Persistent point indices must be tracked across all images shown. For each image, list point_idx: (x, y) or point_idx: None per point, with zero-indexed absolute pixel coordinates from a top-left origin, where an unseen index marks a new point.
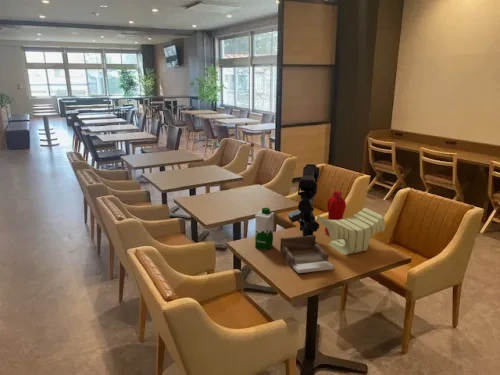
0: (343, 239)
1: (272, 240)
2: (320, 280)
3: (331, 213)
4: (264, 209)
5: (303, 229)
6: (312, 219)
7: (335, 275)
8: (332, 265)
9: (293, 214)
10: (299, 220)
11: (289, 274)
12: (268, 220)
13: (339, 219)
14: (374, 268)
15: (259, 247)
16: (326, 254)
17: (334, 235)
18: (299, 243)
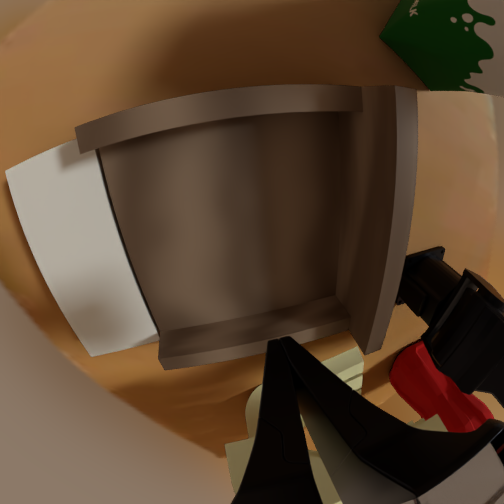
0: (355, 389)
1: (443, 82)
2: (17, 267)
3: (451, 411)
4: None
5: (276, 436)
6: (465, 380)
7: (73, 332)
8: (93, 353)
9: None
10: (469, 469)
11: (43, 112)
12: None
13: (423, 411)
14: (158, 424)
15: (399, 5)
16: (168, 364)
17: (237, 468)
18: (359, 236)
